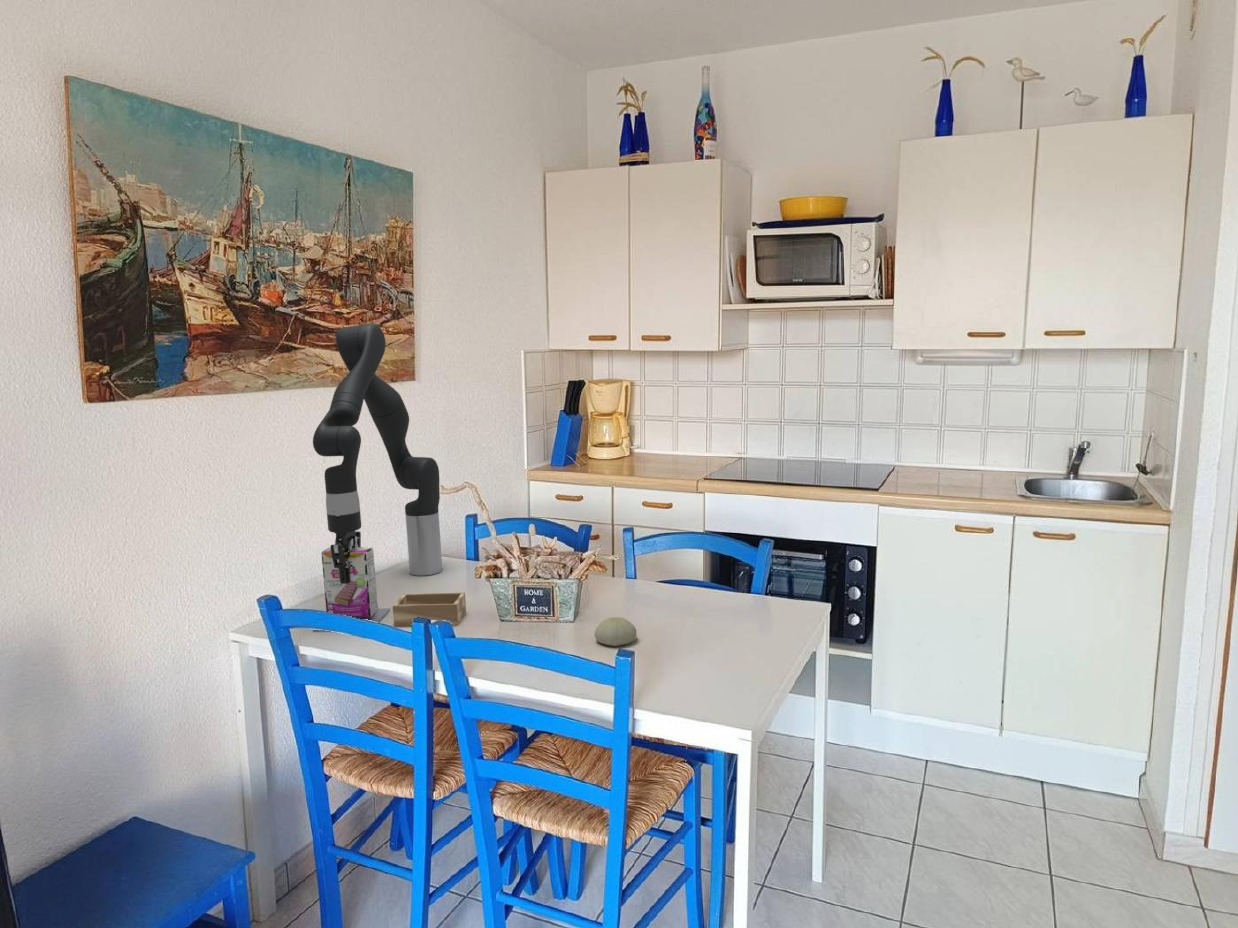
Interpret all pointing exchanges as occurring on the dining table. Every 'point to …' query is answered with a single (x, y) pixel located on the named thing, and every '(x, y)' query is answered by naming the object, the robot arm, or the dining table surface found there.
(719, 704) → the dining table surface
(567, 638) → the dining table surface
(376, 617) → the coaster
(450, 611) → the caddy
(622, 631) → the sea urchin shell
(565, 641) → the dining table surface
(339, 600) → the candy bar box
